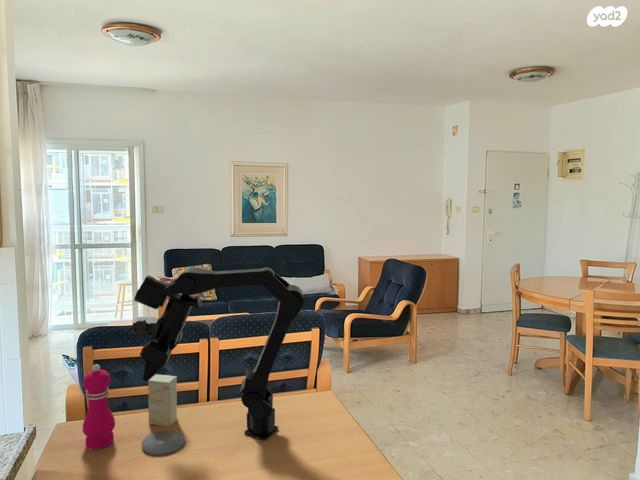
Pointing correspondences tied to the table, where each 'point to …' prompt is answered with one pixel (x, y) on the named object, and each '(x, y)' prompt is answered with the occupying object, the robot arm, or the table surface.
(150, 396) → the skincare box
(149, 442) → the charcoal coaster
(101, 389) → the pepper mill
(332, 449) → the table surface
